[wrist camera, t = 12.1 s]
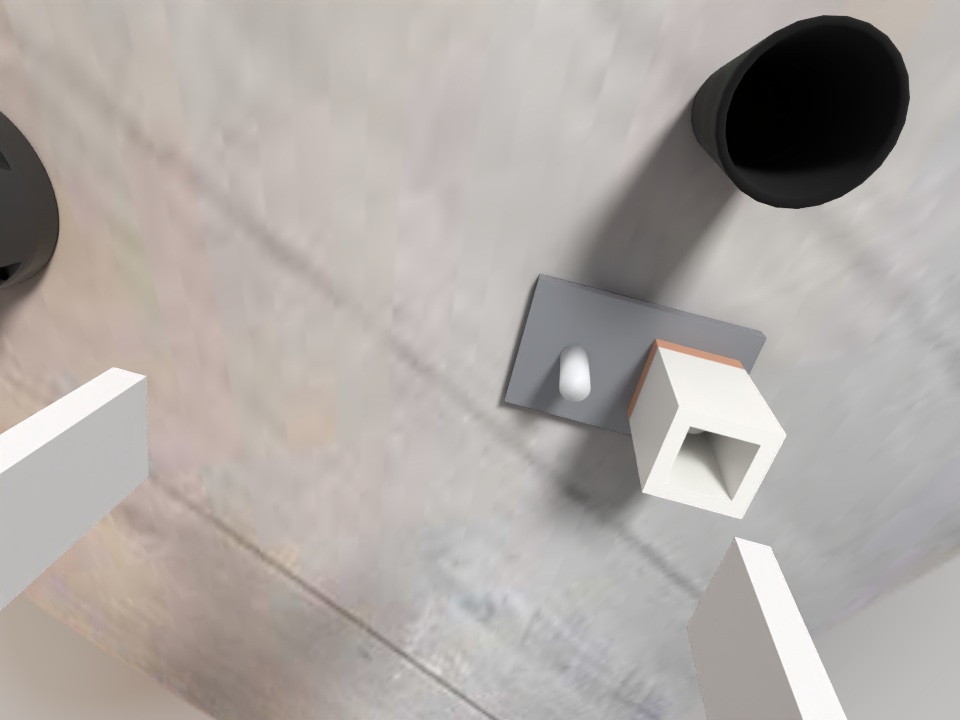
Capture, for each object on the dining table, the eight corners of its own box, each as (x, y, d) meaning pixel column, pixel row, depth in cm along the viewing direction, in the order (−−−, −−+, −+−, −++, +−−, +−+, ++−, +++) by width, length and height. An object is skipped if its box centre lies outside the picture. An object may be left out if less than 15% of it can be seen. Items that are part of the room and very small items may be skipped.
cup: (797, 172, 37) (890, 204, 26) (670, 180, 38) (710, 213, 28) (815, 33, 34) (929, 4, 23) (677, 46, 35) (724, 25, 24)
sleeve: (627, 410, 44) (642, 492, 35) (655, 338, 42) (679, 406, 33) (706, 431, 44) (741, 519, 35) (739, 360, 41) (786, 435, 32)
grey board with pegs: (505, 394, 46) (497, 435, 41) (539, 273, 42) (535, 301, 36) (706, 448, 46) (725, 497, 40) (761, 331, 42) (791, 368, 36)
